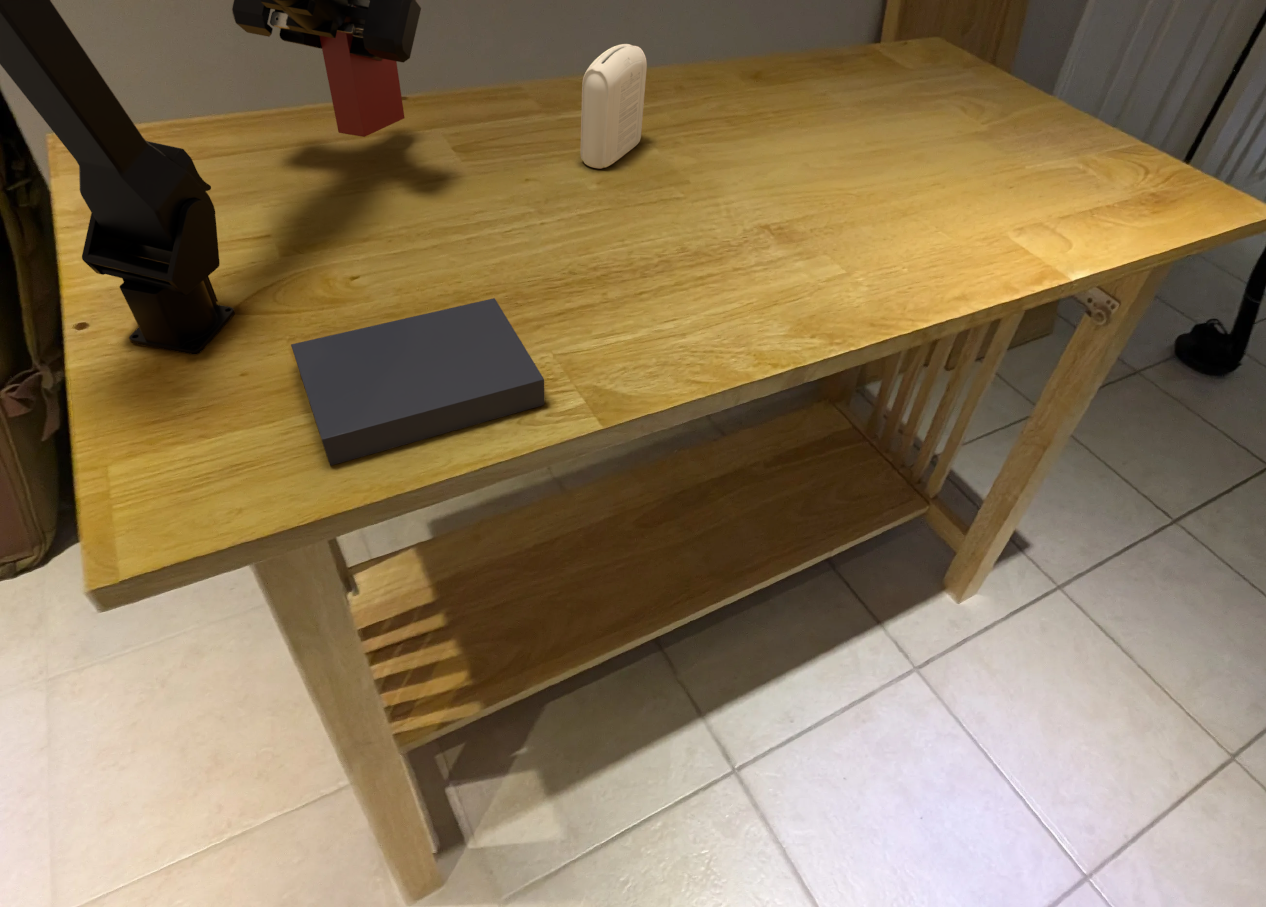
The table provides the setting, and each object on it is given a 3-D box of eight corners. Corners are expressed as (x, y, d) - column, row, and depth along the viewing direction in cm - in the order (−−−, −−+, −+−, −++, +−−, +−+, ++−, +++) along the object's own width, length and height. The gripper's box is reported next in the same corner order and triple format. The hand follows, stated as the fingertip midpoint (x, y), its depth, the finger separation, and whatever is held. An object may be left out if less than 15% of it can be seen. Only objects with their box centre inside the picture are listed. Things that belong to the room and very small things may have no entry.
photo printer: (616, 132, 103) (622, 31, 94) (645, 141, 102) (653, 40, 93) (575, 163, 97) (576, 58, 88) (605, 173, 96) (610, 68, 86)
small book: (364, 137, 88) (341, 5, 80) (338, 133, 89) (312, 2, 81) (405, 118, 94) (387, -7, 86) (380, 114, 95) (360, -10, 87)
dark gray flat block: (330, 466, 61) (321, 439, 59) (299, 371, 68) (290, 344, 66) (545, 404, 68) (545, 378, 66) (497, 323, 75) (495, 297, 73)
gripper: (398, -104, 71) (459, -5, 86) (212, -134, 73) (304, -33, 89) (370, 19, 71) (436, 95, 87) (186, -15, 74) (283, 65, 89)
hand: (364, 53), depth 88 cm, fingers closed on small book, 4 cm apart
